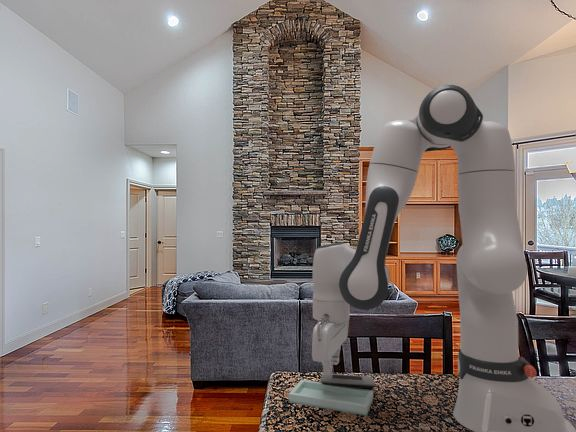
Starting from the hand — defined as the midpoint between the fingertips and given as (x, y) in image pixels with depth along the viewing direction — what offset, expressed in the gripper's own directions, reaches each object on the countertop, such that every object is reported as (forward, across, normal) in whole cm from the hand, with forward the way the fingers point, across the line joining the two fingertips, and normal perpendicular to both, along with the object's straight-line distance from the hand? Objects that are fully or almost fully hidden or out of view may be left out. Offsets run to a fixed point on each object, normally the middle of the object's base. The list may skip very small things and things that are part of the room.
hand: (331, 368), depth 93 cm
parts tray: (+8, 0, 0) cm, 8 cm away
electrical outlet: (+8, +12, -1) cm, 14 cm away
